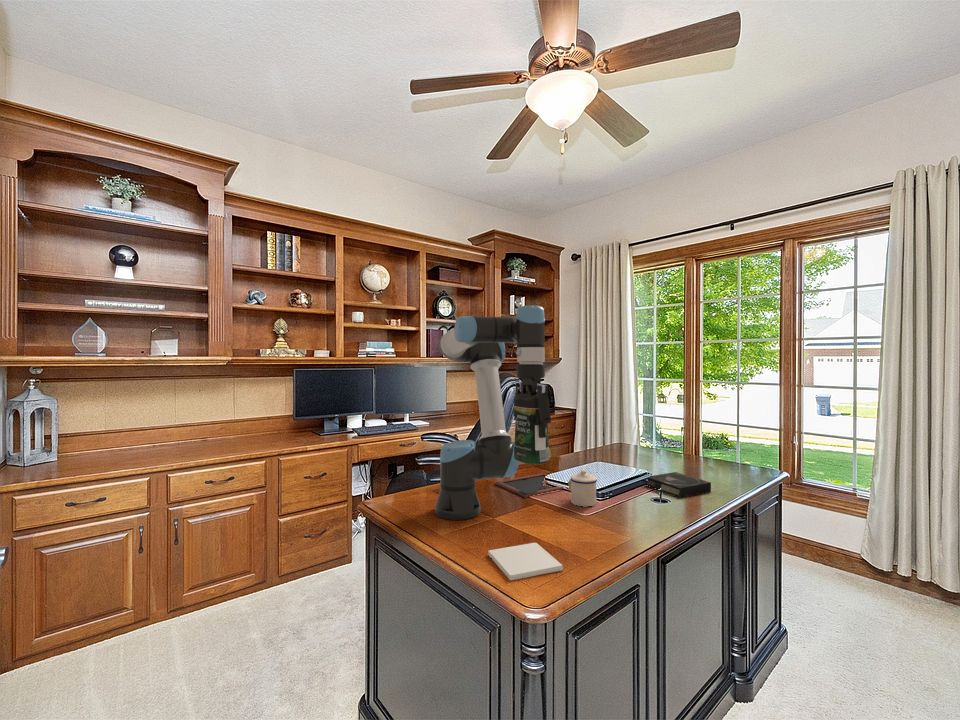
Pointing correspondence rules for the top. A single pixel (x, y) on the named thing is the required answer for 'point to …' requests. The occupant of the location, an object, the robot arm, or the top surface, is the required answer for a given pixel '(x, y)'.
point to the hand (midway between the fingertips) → (531, 446)
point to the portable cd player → (679, 484)
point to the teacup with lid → (583, 489)
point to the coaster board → (524, 561)
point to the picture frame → (527, 485)
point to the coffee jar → (527, 431)
